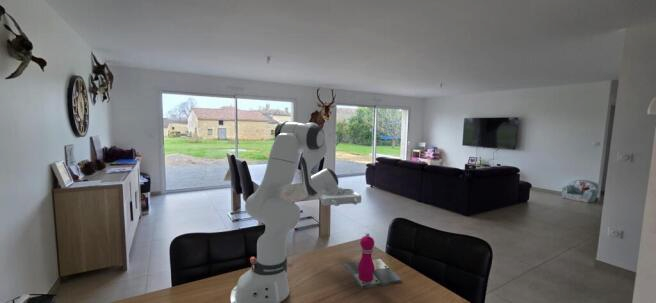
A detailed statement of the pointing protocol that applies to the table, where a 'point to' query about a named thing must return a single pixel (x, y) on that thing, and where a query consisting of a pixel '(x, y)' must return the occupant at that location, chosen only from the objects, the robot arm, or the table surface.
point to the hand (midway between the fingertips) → (346, 203)
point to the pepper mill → (366, 259)
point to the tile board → (374, 274)
